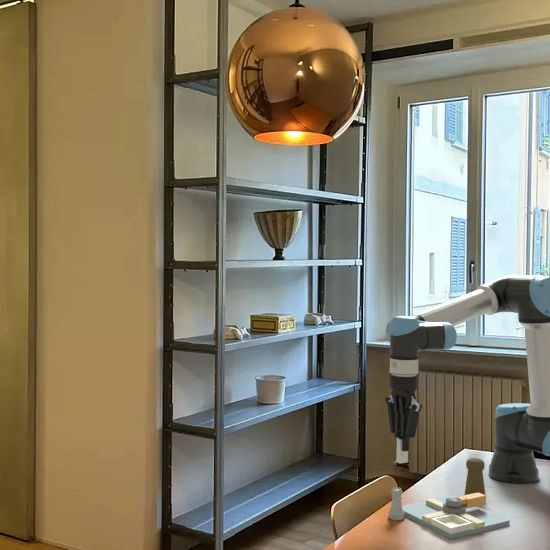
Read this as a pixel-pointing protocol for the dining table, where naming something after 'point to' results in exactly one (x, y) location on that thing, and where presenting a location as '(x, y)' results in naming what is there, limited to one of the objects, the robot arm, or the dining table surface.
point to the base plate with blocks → (438, 508)
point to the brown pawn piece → (475, 476)
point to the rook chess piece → (396, 505)
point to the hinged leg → (466, 500)
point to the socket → (452, 523)
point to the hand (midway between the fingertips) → (402, 462)
